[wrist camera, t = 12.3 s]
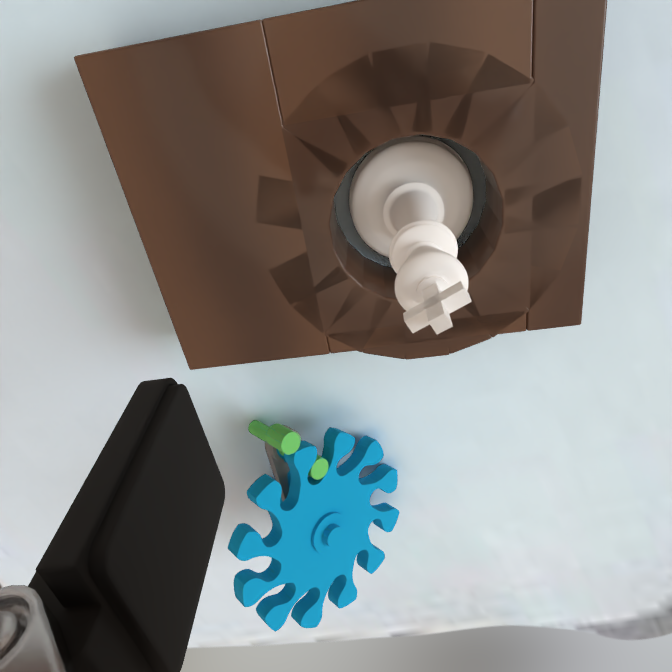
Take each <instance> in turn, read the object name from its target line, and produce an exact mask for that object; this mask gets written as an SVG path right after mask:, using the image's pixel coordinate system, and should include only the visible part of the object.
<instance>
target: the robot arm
mask: <svg viewBox="0 0 672 672" xmlns="http://www.w3.org/2000/svg"><path fill="white" fill-rule="evenodd" d="M224 499H225V486H224V482H223V479H222V476H221V474H220V471H219V469H218V466H217V464H216V461H215V459H214V456H213V453H212V451H211V448H210V446H209V443H208V441H207V438H206V436H205V433H204V431H203V428H202V425H201V423H200V420H199V418H198V415H197V413H196V410H195V408H194V405H193V403H192V400H191V397H190V395H189V392H188V390H187V388H186V386H185V385H183V384H177V382H176V381H175V380H174V379H172V378H166V379H158V380H150V381H143V382H141V383H140V384H139V385H138V387H137V389H136V391H135V392H134V394H133V396H132V398H131V400H130V401H129V403H128V405H127V407H126V409H125V410H124V412H123V414H122V416H121V418H120V419H119V421H118V423H117V425H116V426H115V428H114V430H113V432H112V434H111V435H110V437H109V439H108V441H107V443H106V444H105V446H104V448H103V450H102V452H101V453H100V455H99V457H98V459H97V461H96V462H95V464H94V466H93V468H92V469H91V471H90V473H89V475H88V477H87V478H86V480H85V482H84V484H83V486H82V487H81V489H80V491H79V493H78V495H77V496H76V498H75V500H74V502H73V503H72V505H71V507H70V509H69V511H68V512H67V514H66V516H65V518H64V520H63V521H62V523H61V525H60V527H59V529H58V530H57V532H56V534H55V536H54V537H53V539H52V541H51V543H50V545H49V546H48V548H47V550H46V552H45V554H44V555H43V557H42V559H41V561H40V563H39V564H38V566H37V568H36V573H35V575H34V576H33V578H32V580H31V582H30V584H29V585H28V587H27V586H25V585H11V586H7V587H4V588H0V672H180V670H181V668H182V665H183V661H184V657H185V653H186V649H187V645H188V642H189V638H190V634H191V630H192V626H193V622H194V618H195V614H196V610H197V606H198V602H199V598H200V594H201V590H202V587H203V583H204V579H205V575H206V571H207V567H208V563H209V559H210V555H211V551H212V547H213V543H214V539H215V535H216V532H217V528H218V524H219V520H220V516H221V512H222V508H223V504H224Z"/></svg>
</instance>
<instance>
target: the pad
mask: <svg viewBox="0 0 672 672" xmlns="http://www.w3.org/2000/svg"><path fill="white" fill-rule="evenodd" d="M606 9H607V0H357V1H352V2H347V3H342V4H337V5H332V6H327V7H322V8H316V9H311V10H306V11H301V12H296V13H291V14H286V15H281V16H276V17H271V18H266V19H262V20H256V21H250V22H245V23H240V24H235V25H230V26H225V27H220V28H215V29H210V30H205V31H200V32H195V33H190V34H184V35H179V36H174V37H169V38H164V39H159V40H154V41H149V42H144V43H139V44H134V45H129V46H123V47H118V48H113V49H108V50H103V51H98V52H93V53H88V54H83V55H78V56H75V57H74V60H75V62H76V65H77V68H78V70H79V73H80V76H81V78H82V81H83V84H84V86H85V89H86V92H87V95H88V97H89V100H90V103H91V105H92V108H93V111H94V113H95V116H96V119H97V121H98V124H99V127H100V129H101V132H102V135H103V137H104V140H105V143H106V146H107V148H108V151H109V154H110V156H111V159H112V162H113V164H114V167H115V170H116V172H117V175H118V178H119V180H120V183H121V186H122V189H123V191H124V194H125V197H126V199H127V202H128V205H129V207H130V210H131V213H132V215H133V218H134V221H135V223H136V226H137V229H138V231H139V234H140V237H141V240H142V242H143V245H144V248H145V250H146V253H147V256H148V258H149V261H150V264H151V266H152V269H153V272H154V274H155V277H156V280H157V282H158V285H159V288H160V291H161V293H162V296H163V299H164V301H165V304H166V307H167V309H168V312H169V315H170V317H171V320H172V323H173V325H174V328H175V331H176V334H177V336H178V339H179V342H180V344H181V347H182V350H183V352H184V355H185V358H186V360H187V363H188V366H189V368H190V370H193V369H201V368H210V367H219V366H227V365H236V364H245V363H254V362H262V361H271V360H280V359H288V358H297V357H306V356H314V355H323V354H329V353H330V352H331V353H338V352H347V351H356V350H357V351H359V352H363V353H367V354H374V355H380V356H387V357H393V358H400V359H405V358H406V359H415V358H424V357H433V356H442V355H449V353H450V354H451V353H454V352H457V351H459V350H462V349H465V348H467V347H470V346H472V345H475V344H478V343H480V342H483V341H485V340H488V339H490V338H491V337H495V336H496V335H497V334H503V333H512V332H521V331H526V329H527V330H529V331H530V330H539V329H547V328H556V327H565V326H573V325H580V324H581V318H582V306H583V294H584V281H585V269H586V257H587V244H588V232H589V220H590V207H591V195H592V182H593V170H594V158H595V145H596V133H597V121H598V108H599V96H600V84H601V71H602V59H603V47H604V34H605V22H606ZM421 134H422V135H428V136H434V137H440V138H446V139H451V140H453V141H454V142H456V143H458V144H460V145H461V146H463V147H465V148H467V149H469V150H470V151H472V152H474V153H475V154H476V155H477V156H478V159H479V161H480V164H481V167H482V169H483V172H484V175H485V184H486V202H485V205H484V208H483V211H482V215H481V218H480V221H479V224H478V225H477V227H476V228H475V229H474V231H473V232H472V234H471V235H470V237H469V238H468V240H467V241H466V243H465V244H464V245H462V246H461V247H460V248H459V249H458V254H457V259H458V260H459V261H460V262H461V264H462V265H463V266H464V268H465V270H466V272H467V275H468V291H467V292H468V293H469V296H470V298H471V301H472V302H470V303H468V304H467V305H465V306H463V307H461V308H459V309H457V310H456V311H454V312H452V313H450V318H451V321H452V325H453V327H451V328H449V329H447V330H445V331H443V332H441V333H439V334H438V335H437V334H436V333H435V331H434V330H433V328H432V327H431V325H428V326H426V327H424V328H422V329H420V330H418V331H417V332H415V333H412V332H411V330H410V329H409V327H408V326H407V325H406V323H405V322H404V316H403V313H404V312H406V310H405V309H404V308H403V307H402V306H401V305H400V303H399V302H398V300H397V298H396V294H395V279H396V276H397V273H396V272H395V271H394V269H393V268H391V267H385V266H382V265H380V264H377V263H375V262H373V261H371V260H369V259H367V258H365V257H363V256H362V255H361V254H360V253H359V252H358V251H357V250H356V249H355V248H354V247H353V246H352V245H351V244H350V243H349V242H348V241H347V239H346V237H345V235H344V233H343V232H342V230H341V228H340V226H339V224H338V222H337V216H336V210H335V205H334V196H335V194H336V192H337V190H338V188H339V186H340V184H341V182H342V180H343V178H344V176H345V174H346V172H347V171H348V170H349V169H350V168H351V167H352V166H353V165H354V164H355V163H356V162H357V161H358V160H359V159H360V158H361V157H362V156H363V155H364V154H365V153H367V152H368V151H370V150H372V149H374V148H376V147H378V146H380V145H382V144H384V143H386V142H388V141H390V140H392V139H396V138H402V137H408V136H415V135H421Z"/></svg>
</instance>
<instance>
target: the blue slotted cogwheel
mask: <svg viewBox="0 0 672 672" xmlns="http://www.w3.org/2000/svg"><path fill="white" fill-rule="evenodd" d="M248 430H249V432H250V433H251V434H253V435H255V436H256V437H258V438H260V439H261V440H263V441H265V449H266V452H267V455H268V458H269V461H270V465H271V468H272V471H273V474H274V477H275V480H274V479H273V478H271V477H270V476H269V475H267V474H264V475H262V476H261V477H259V478H258V479H257V480H256V481H255V482H254V483H253V484H252V485H251V487H250V488H249V489H248V490H247V496H248V498H249V499H250V500H251V501H252V502H254V503H255V504H256V505H257V506H259V507H260V508H262V509H266V510H268V512H269V514H270V517H271V520H272V523H273V526H272V530H271V532H270V533H269V535H268V536H266V537H265V538H263V539H262V538H261V536H260V534H259V533H258V532H256V531H255V530H254V529H253V528H252V527H251V526H249V525H248V524H245V523H242V524H238V526H237V527H236V528H235V530H234V532H233V534H232V536H231V539H230V542H229V545H228V549H229V550H230V551H231V552H232V553H233V554H234V555H235V556H236V557H237V558H238V559H239V560H242V561H246V560H249V559H251V558H254V557H258V556H269V557H272V561H271V564H270V566H269V567H268V568H267V569H266V570H265V571H264V572H261V573H256V572H254V571H252V570H250V569H245V570H242V571H240V572H238V573H237V574H236V575H235V578H234V592H235V596H236V598H237V599H238V600H239V601H240V602H241V603H242V605H243V606H244V607H249V606H252V605H254V604H255V603H256V602H258V600H259V599H260V598H261V597H262V596H263V595H264V594H265V593H267V592H268V591H269V590H271V589H272V588H274V587H276V586H279V585H282V584H285V586H284V588H283V589H282V591H280V592H279V593H278V594H275V595H271V596H268V597H266V598H264V599H263V600H262V601H261V602H260V603H259V604H258V606H257V608H256V611H257V613H258V615H259V616H260V617H261V618H262V620H263V621H264V622H265V623H266V624H267V625H268V626H269V627H270V628H271V629H272V630H274V631H277V630H278V629H280V628H281V627H282V626H283V624H284V623H285V621H286V619H287V616H288V614H289V612H290V610H291V609H292V607H293V606H294V604H295V603H296V602H297V601H298V600H299V598H301V597H302V596H303V595H304V594H305V593H306V592H307V591H308V590H309V591H308V593H307V594H306V595H305V596H304V597H303V598H302V599H300V600H299V601H298V602H297V603H296V605H295V606H294V608H293V610H292V613H291V617H292V618H293V619H294V620H295V621H296V622H297V623H298V624H299V625H300V626H302V627H304V628H313V627H317V625H318V624H319V622H320V620H321V618H322V607H323V602H324V598H325V596H326V593H327V591H328V589H329V591H328V597H329V600H330V601H332V602H333V603H334V604H335V605H336V606H337V607H338V608H343V607H345V606H347V605H349V604H350V603H351V602H353V601H354V600H355V599H356V597H357V589H356V587H355V585H354V583H353V578H352V572H353V565H354V560H355V557H356V555H357V554H358V555H357V563H358V565H359V566H361V567H362V568H364V569H365V570H366V571H368V572H369V573H371V574H372V573H373V572H374V571H375V570H376V569H377V568H378V567H379V566H380V564H381V563H382V561H383V560H384V558H385V555H384V552H383V551H382V550H380V549H379V548H377V547H376V546H374V545H373V544H371V542H370V539H369V535H368V528H369V525H370V524H371V522H372V521H373V523H374V524H375V525H376V526H378V527H380V528H381V529H383V530H384V531H386V532H391V531H392V530H393V528H394V526H395V524H396V521H397V518H398V515H399V511H398V510H397V509H396V508H394V507H392V506H390V505H389V504H387V503H381V504H379V505H370V497H371V494H372V493H373V491H374V490H376V489H378V488H379V489H381V490H383V491H384V492H386V493H391V492H393V491H394V490H395V489H396V487H397V470H396V469H394V468H392V467H390V466H388V465H386V464H382V465H379V466H378V467H377V468H376V469H375V470H374V471H373V472H372V473H371V474H369V475H368V476H366V477H363V478H359V474H360V471H361V470H362V469H363V468H364V467H365V466H368V465H375V464H377V463H379V462H380V461H381V459H382V458H383V455H384V454H383V450H382V448H381V446H380V444H379V443H378V442H377V440H375V439H372V438H370V437H368V436H363V437H362V438H361V439H360V440H359V441H358V443H357V445H356V447H355V449H354V451H353V453H352V454H351V456H350V457H349V458H348V459H347V461H346V462H344V463H343V464H342V465H341V466H339V467H338V468H336V467H337V464H338V462H339V460H340V459H341V458H342V457H344V456H345V455H346V454H348V453H349V452H350V451H351V450H352V448H353V446H354V443H355V438H354V437H353V436H352V435H350V434H348V433H346V432H343V431H341V430H339V429H336V428H331V427H330V428H329V429H328V430H327V431H326V433H325V436H324V448H323V453H322V456H321V457H320V456H319V455H317V449H316V446H314V445H312V444H310V443H308V442H306V441H301V437H300V435H299V433H298V432H297V431H295V430H293V429H292V428H290V427H288V426H285V425H281V424H273V425H271V426H270V427H268V426H266V425H265V424H263V423H261V422H259V421H257V420H254V421H252V422H251V423H250V424H249V427H248ZM332 582H333V583H332ZM331 584H332V585H331Z"/></svg>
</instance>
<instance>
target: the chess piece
mask: <svg viewBox="0 0 672 672" xmlns="http://www.w3.org/2000/svg"><path fill="white" fill-rule="evenodd" d="M472 207H473V185H472V180H471V176H470V173H469V170H468V168H467V166H466V164H465V163H464V161H463V160H462V158H461V157H460V156H459V155H458V154H457V153H456V152H455V151H454V150H453V149H452V148H451V147H449V146H448V145H446V144H445V143H443V142H441V141H439V140H436V139H434V138H430V137H426V136H408V137H402V138H396V139H392V140H390V141H388V142H386V143H384V144H382V145H380V146H378V147H377V148H376V149H374V150H373V151H372V152H371V153H370V154H369V155H368V156H367V157H366V158H365V159H364V160H363V161H362V163H361V164H360V165H359V167H358V169H357V170H356V172H355V175H354V177H353V180H352V183H351V186H350V192H349V208H350V213H351V217H352V220H353V223H354V225H355V227H356V230H357V232H358V233H359V235H360V236H361V238H362V239H363V240H364V241H365V243H366V244H367V245H368V246H369V247H371V248H372V249H373V250H375V251H376V252H378V253H379V254H381V255H383V256H386V257H388V258H389V260H390V263H391V266H392V268H393V269H394V271H395V272H396V273H397V276H396V279H395V294H396V298H397V300H398V302H399V303H400V305H401V306H402V307H403V308H404V309H405V310H406V312H404V313H403V316H404V322H405V323H406V325H407V326H408V327H409V329H410V330H411V332H412V333H415V332H417V331H418V330H420V329H422V328H424V327H426V326H428V325H431V327H432V328H433V330H434V331H435V333H436V334H437V335H438V334H439V333H441V332H443V331H445V330H447V329H449V328H451V327H453V325H452V321H451V318H450V313H452V312H454V311H456V310H457V309H459V308H461V307H463V306H465V305H467V304H468V303H470V302H472V301H471V298H470V296H469V293H468V292H467V291H468V275H467V272H466V270H465V268H464V266H463V265H462V264H461V262H460V261H459V260H458V259H457V254H458V245H457V241H456V240H457V238H458V237H459V236H460V235H461V233H462V232H463V230H464V229H465V227H466V225H467V223H468V221H469V218H470V216H471V212H472Z"/></svg>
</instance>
